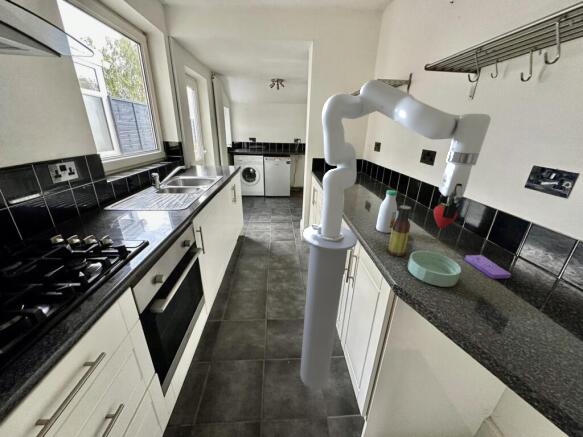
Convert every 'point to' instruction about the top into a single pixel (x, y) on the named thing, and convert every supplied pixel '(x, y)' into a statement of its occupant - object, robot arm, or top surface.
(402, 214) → the sauce bottle
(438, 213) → the strawberry
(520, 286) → the top surface
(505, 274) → the sponge
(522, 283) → the top surface
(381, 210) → the milk bottle
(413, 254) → the bowl
